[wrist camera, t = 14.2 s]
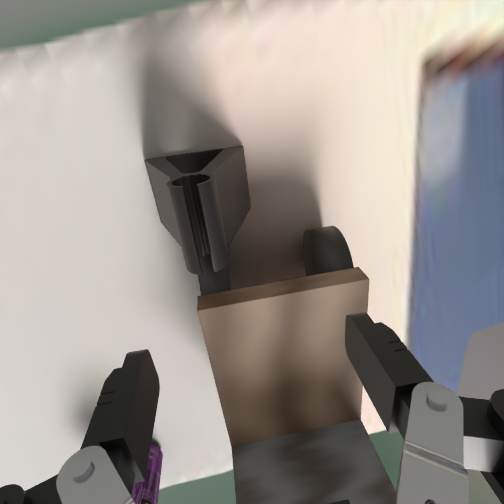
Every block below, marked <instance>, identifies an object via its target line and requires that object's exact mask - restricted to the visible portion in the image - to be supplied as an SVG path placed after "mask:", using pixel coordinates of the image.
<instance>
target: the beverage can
mask: <svg viewBox="0 0 504 504" xmlns="http://www.w3.org/2000/svg"><path fill="white" fill-rule="evenodd" d="M162 457H163V455H162V452H161V450H160V449H159V448H158V447H156V446H155V445H153V444H151V447H150V453H149V459H148V465H147V471H146V477H145V481H143V482H138V483H134V485H133V490H132V496H131V497H132V499H133V501H134V502H135V504H157V502H158V493H159V484H160V475H161V466H162Z"/></svg>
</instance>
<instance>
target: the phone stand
mask: <svg viewBox="0 0 504 504" xmlns="http://www.w3.org/2000/svg"><path fill="white" fill-rule="evenodd" d="M144 161H145V164H146V168H147V172H148V176H149V179H150V183H151V187H152V190H153V194H154V198H155V202H156V205H157V209H158V213H159V216H160V220H161V223H162V224H163V225H164V226H165V228H166V229H167V230H168V231H169V232H170V234H171V235H172V236H173V237H174V239H175V240H176V241H177V242H178V243H179V245H180V246H181V247H182V250H183V254H184V258H185V262H186V266H187V270H188V271H189V272H191V273H193V274H198V275H202V273H203V271H202V266H201V262H200V257H199V256H205V255H206V254H210V255H211V259H212V264H213V269H214V271H215V272H217V271H220V270H221V269H223V268H224V267H226V266H227V264H228V263H229V257H228V251H227V248H228V246H229V244H230V243H231V241H232V239H233V237H234V236H235V234H236V232H237V231H238V229H239V227H240V225H241V224H242V222H243V220H244V218H245V217H246V215H247V213H248V211H249V210H250V208H251V206H250V198H249V190H248V182H247V173H246V165H245V157H244V149H243V146H235V147H228V148H221V149H215V150H208V151H201V152H196V153H187V154H180V155H173V156H166V157H159V158H152V159H146V160H144Z"/></svg>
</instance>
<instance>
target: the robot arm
mask: <svg viewBox="0 0 504 504" xmlns="http://www.w3.org/2000/svg"><path fill="white" fill-rule="evenodd" d="M345 349H346V353H347V356H348V358H349V360H350V362H351V364H352V366H353V367H354V369H355V371H356V373H357V375H358V377H359V379H360V380H361V382H362V384H363V386H364V388H365V390H366V392H367V394H368V395H369V397H370V399H371V401H372V403H373V405H374V407H375V408H376V410H377V412H378V414H379V416H380V418H381V420H382V421H383V423H384V425H385V427H386V429H387V431H388V432H389V433H393V432H400V433H401V435H402V437H403V439H404V443H403V450H402V456H401V462H400V469H399V475H398V482H397V488H396V495H395V501H394V504H469V480H468V472H467V470H466V469H472V470H479V471H480V472H481V473H482V475H483V476H484V477H485V479H486V481H487V482H488V484H489V485H490V486H491V488H492V490H493V491H494V493H495V494H496V496H497V497H498V499H499V500H500V502H501V503H502V504H504V389H501V390H497V391H495V392H494V393H493V394H492V396H491V399H490V400H484V399H475V398H465V397H460V396H457V395H456V394H455V393H454V392H453V391H452V390H451V389H449V388H447V387H446V386H444V385H441V384H438V383H435V382H434V381H433V380H432V379H431V378H430V376H429V375H428V374H427V373H426V371H425V370H424V369H423V368H422V366H421V365H420V364H419V362H418V361H417V360H416V359H415V357H414V356H413V355H412V354H411V352H410V351H409V350H407V347H406V346H405V345H404V343H403V342H401V340H400V338H399V337H398V336H397V335H396V333H395V332H394V331H393V330H392V329H391V328H389V327H388V326H386V325H384V324H383V323H381V322H380V323H374V322H373V321H372V319H371V318H370V317H369V315H368V314H367V313H366V312H361V313H355V314H350V315H347V316H346V320H345ZM159 388H160V387H159V378H158V374H157V372H156V369H155V366H154V363H153V360H152V358H151V355H150V352H149V350H147V349H146V350H140V351H135V352H129V353H127V355H126V357H125V360H124V363H123V366H122V368H117V369H114V370H113V371H112V373H111V374H110V375H109V377H108V378H107V379H106V380H105V382H104V385H103V388H102V391H101V396H99V399H98V402H97V407H95V410H94V413H93V416H92V419H91V421H90V424H89V427H88V430H87V433H86V435H85V438H84V441H83V444H82V446H81V449H80V450H79V451H78V452H76V453H75V454H74V455H72V456H71V457H70V458H69V459H68V460H67V461H66V462H65V464H64V465H63V466H62V468H61V470H60V472H59V474H57V475H56V476H54V477H52V478H50V479H48V480H46V481H44V482H42V483H40V484H38V485H36V486H34V487H32V488H30V489H28V490H26V491H24V490H23V489H22V487H20V486H19V485H16V484H11V485H6V486H3V487H1V488H0V504H135V502H134V501H133V499H132V497H131V496H132V490H133V485H134V483H138V482H143V481H145V477H146V471H147V465H148V459H149V453H150V447H151V440H152V434H153V428H154V422H155V416H156V410H157V404H158V397H159ZM464 468H465V469H464ZM328 504H350V502H349V499H347V500H342V501H338V502H333V503H328Z"/></svg>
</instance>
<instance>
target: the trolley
mask: <svg viewBox="0 0 504 504" xmlns="http://www.w3.org/2000/svg"><path fill="white" fill-rule="evenodd" d="M302 252H303V262H304V269H305V274H306V277H301V278H295V279H290V280H284V281H279V282H273V283H268V284H262V285H257V286H251V287H246V288H240V289H235V290H231V284H230V278H229V273H228V267H227V266H226V267H224V268H223V269H221V270H220V271H217V272H215V271H214V269H213V264H212V259H211V255H210V254H206V255H205V256H199V257H200V262H201V266H202V271H203V273H202V275H198V277H199V284H200V291H201V296H198V307H197V311H198V315H199V319H200V323H201V327H202V331H203V335H204V339H205V343H206V347H207V351H208V355H209V359H210V363H211V367H212V371H213V375H214V379H215V383H216V387H217V391H218V395H219V399H220V403H221V407H222V411H223V415H224V419H225V423H226V427H227V431H228V434H229V438H230V442H231V446H232V457H233V468H234V479H235V491H236V504H328V503H333V502H338V501H342V500H347V499H349V502H350V504H394V501H395V495H396V491H395V489H394V487H393V484H392V482H391V480H390V479H389V476H388V474H387V472H386V470H385V468H384V466H383V464H382V462H381V460H380V458H379V456H378V454H377V452H376V450H375V448H374V446H373V444H372V442H371V440H370V438H369V435H368V433H367V431H366V429H365V427H364V425H363V423H362V421H361V404H362V388H363V384H362V382H361V380H360V379H359V377H358V375H357V373H356V371H355V369H354V367H353V366H352V364H351V362H350V360H349V358H348V356H347V353H346V349H345V320H346V316H347V315H350V314H355V313H361V312H366V313H367V308H368V292H369V278H368V277H367V276H366V275H365V274H364V273H363V271H362V270H361V269H360V268H359V267H356V268H354V267H353V262H352V258H351V254H350V251H349V248H348V245H347V243H346V240H345V238H344V237H343V235H342V233H341V232H340V231H339V229H338V228H336V227H335V226H329V227H323V228H317V229H311V230H306V231H305V233H304V236H303V243H302Z"/></svg>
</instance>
